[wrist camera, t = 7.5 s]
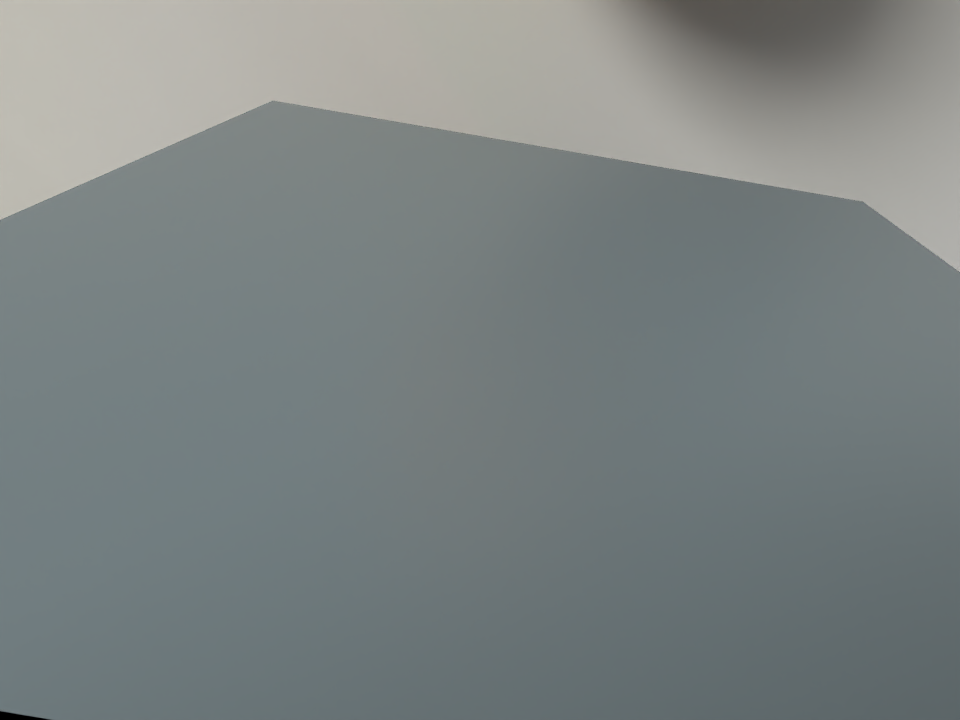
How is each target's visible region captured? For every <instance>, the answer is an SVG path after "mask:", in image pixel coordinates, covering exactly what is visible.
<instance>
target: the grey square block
mask: <svg viewBox="0 0 960 720" xmlns="http://www.w3.org/2000/svg"><path fill="white" fill-rule="evenodd" d="M0 720H960V272H959V271H957V270H956V269H954V268H953V267H952V266H950V265H949V264H948V263H946V262H945V261H943V260H942V259H941V258H939V257H938V256H937V255H935V254H934V253H932V252H931V251H930V250H928V249H927V248H926V247H924V246H923V245H921V244H920V243H919V242H917V241H916V240H915V239H913V238H912V237H910V236H909V235H908V234H906V233H905V232H904V231H902V230H901V229H900V228H898V227H897V226H895V225H894V224H893V223H891V222H890V221H889V220H887V219H886V218H884V217H883V216H882V215H880V214H879V213H878V212H876V211H875V210H873V209H872V208H871V207H869V206H868V205H867V204H865V203H864V202H861V201H855V200H850V199H844V198H838V197H832V196H826V195H820V194H815V193H809V192H803V191H797V190H791V189H785V188H779V187H774V186H768V185H762V184H756V183H750V182H744V181H739V180H733V179H727V178H721V177H715V176H709V175H704V174H698V173H692V172H686V171H680V170H674V169H669V168H663V167H657V166H651V165H645V164H639V163H633V162H628V161H622V160H616V159H610V158H604V157H598V156H593V155H587V154H581V153H575V152H569V151H563V150H558V149H552V148H546V147H540V146H534V145H528V144H523V143H517V142H511V141H505V140H499V139H493V138H487V137H482V136H476V135H470V134H464V133H458V132H452V131H447V130H441V129H435V128H429V127H423V126H417V125H412V124H406V123H400V122H394V121H388V120H382V119H377V118H371V117H365V116H359V115H353V114H347V113H341V112H336V111H330V110H324V109H318V108H312V107H306V106H301V105H295V104H289V103H283V102H277V101H271V102H269V103H266V104H264V105H262V106H260V107H257V108H255V109H253V110H250V111H248V112H246V113H244V114H241V115H239V116H237V117H234V118H232V119H230V120H228V121H225V122H223V123H221V124H218V125H216V126H214V127H212V128H209V129H207V130H205V131H203V132H200V133H198V134H196V135H193V136H191V137H189V138H187V139H184V140H182V141H180V142H177V143H175V144H173V145H171V146H168V147H166V148H164V149H161V150H159V151H157V152H155V153H152V154H150V155H148V156H145V157H143V158H141V159H139V160H136V161H134V162H132V163H129V164H127V165H125V166H123V167H120V168H118V169H116V170H113V171H111V172H109V173H107V174H104V175H102V176H100V177H97V178H95V179H93V180H91V181H88V182H86V183H84V184H81V185H79V186H77V187H75V188H72V189H70V190H68V191H65V192H63V193H61V194H59V195H56V196H54V197H52V198H50V199H47V200H45V201H43V202H40V203H38V204H36V205H34V206H31V207H29V208H27V209H24V210H22V211H20V212H18V213H15V214H13V215H11V216H8V217H6V218H4V219H2V220H0Z"/></svg>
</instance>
